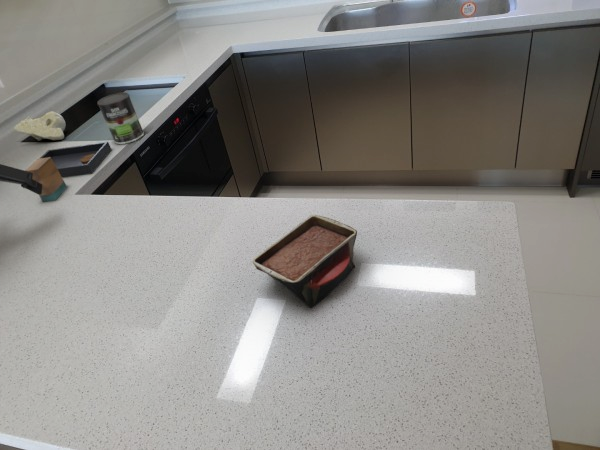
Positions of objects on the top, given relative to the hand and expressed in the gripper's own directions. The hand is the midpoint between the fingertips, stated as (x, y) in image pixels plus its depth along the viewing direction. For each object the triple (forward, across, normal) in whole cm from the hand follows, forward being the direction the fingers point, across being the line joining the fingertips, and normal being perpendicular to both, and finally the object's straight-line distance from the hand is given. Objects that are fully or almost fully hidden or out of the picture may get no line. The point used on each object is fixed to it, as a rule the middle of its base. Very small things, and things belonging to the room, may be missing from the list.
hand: (16, 191), depth 119 cm
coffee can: (+34, +12, +30) cm, 47 cm away
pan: (+25, -2, +18) cm, 30 cm away
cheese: (+41, -24, +36) cm, 59 cm away
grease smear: (+24, +5, +18) cm, 30 cm away
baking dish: (-18, +77, -30) cm, 84 cm away
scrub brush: (+13, +2, +4) cm, 14 cm away
